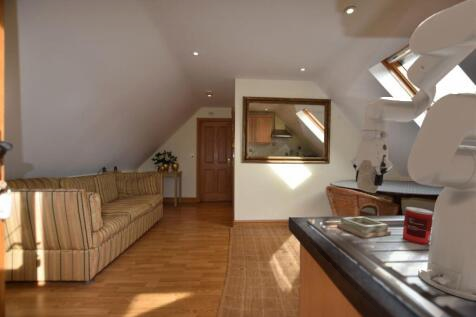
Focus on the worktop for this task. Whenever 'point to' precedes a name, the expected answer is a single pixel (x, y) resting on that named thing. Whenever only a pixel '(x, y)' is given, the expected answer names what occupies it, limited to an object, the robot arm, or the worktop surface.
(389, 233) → the beige shallow tray
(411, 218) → the canned food
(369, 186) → the carving
